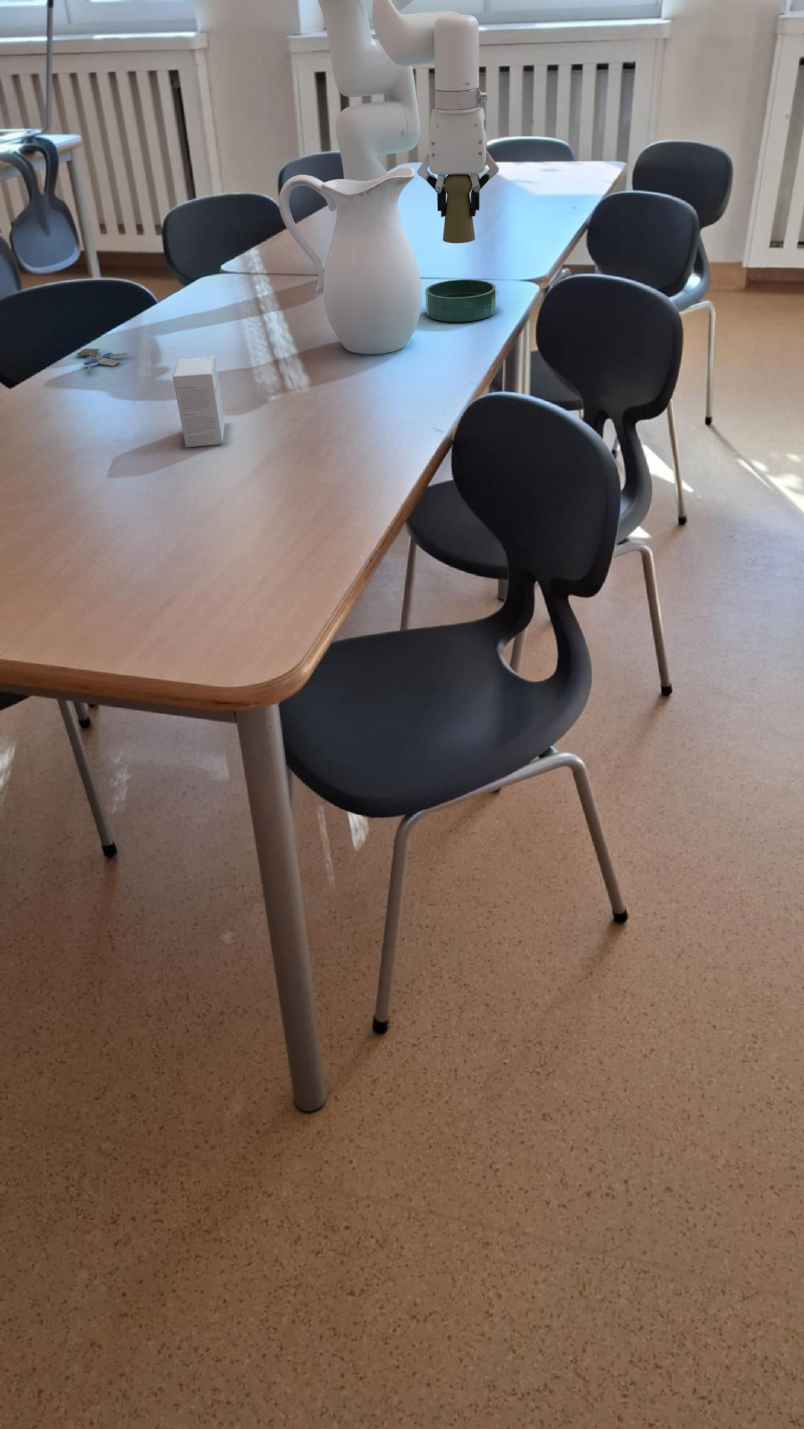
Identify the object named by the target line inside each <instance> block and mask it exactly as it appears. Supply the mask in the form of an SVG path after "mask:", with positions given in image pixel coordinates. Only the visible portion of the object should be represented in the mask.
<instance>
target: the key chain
mask: <svg viewBox="0 0 804 1429" xmlns="http://www.w3.org/2000/svg"><path fill="white" fill-rule="evenodd" d="M100 350H101V349H100V348H84V349H82V350H80V351H79V352H78V353H76V356H86V357H85V360H86V361H85V362H83V365H84V366H87V373H90V372H91V370H92V366H93V364H96V363H97V364H99V365H105V366H111V367H114V366H115V365H117V364H119V363H120V362H121V360H118V359H112V358H115V357H122V356H123V357H125V356H128V352H121V353H113V352H107V353H104V354H101V353H100V354H96V353H98V352H99V351H100ZM87 356H88V357H87Z"/></svg>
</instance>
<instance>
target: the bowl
mask: <svg viewBox="0 0 804 1429" xmlns="http://www.w3.org/2000/svg"><path fill="white" fill-rule="evenodd" d="M424 293H425V312H426V314H425V315H426V316H427V317H429V318H431V319H433V320H437V321H441V322H448V323H449V322H450V323H465V322H473V321H478V320H482V319H486V318H488V317H491V316H492V315H494V314H495V313H496V312H497V286H496V285H495V284H494V283H492V282H490V281H487V280H481V279H472V278H466V279H465V278H463V279H461V278H460V279H459V278H458V279H451V280H444V281H438V282H436V283H433V284H430V285H429V286H428V287H426V288H425V292H424Z"/></svg>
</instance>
